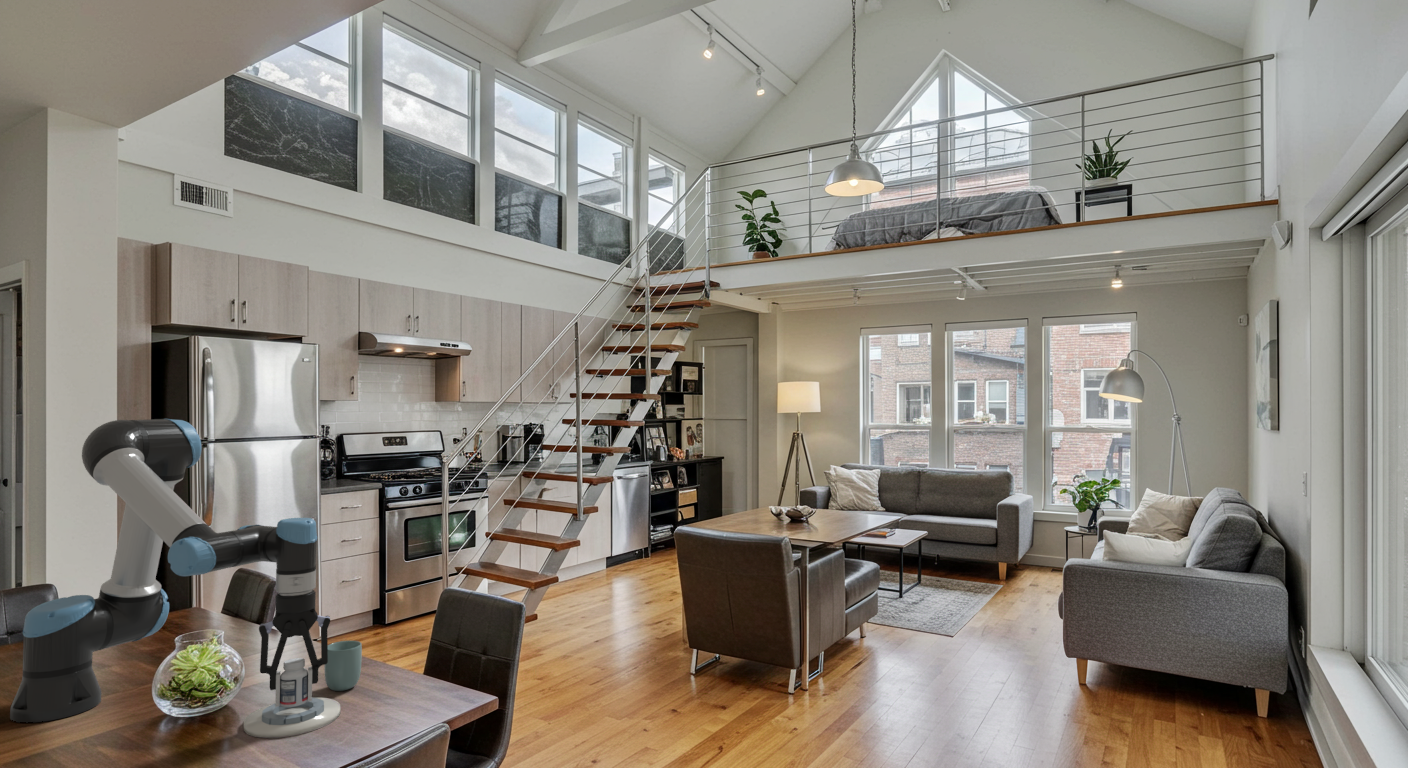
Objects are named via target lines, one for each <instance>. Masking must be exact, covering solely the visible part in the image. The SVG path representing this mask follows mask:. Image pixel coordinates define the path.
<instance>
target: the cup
mask: <svg viewBox="0 0 1408 768" xmlns="http://www.w3.org/2000/svg"><path fill="white" fill-rule="evenodd" d="M362 646H363V645H362V642H361V641H359V640H341V641H335V642H332V643H329V644H328V663H327V664H325V665H323V666H324V668H323V669H324V679H325V680H324V681H325V684H326V686H327V688H329V689H330V690H331V691H333V692H334V691H335V692H342V691H347V690H350V689H352V688H354V687H355V686H356V685H357V684H358V683H359V680H360V677H361V671H362V659H363V657H362V655H363V647H362Z"/></svg>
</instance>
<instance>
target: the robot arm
mask: <svg viewBox="0 0 1408 768" xmlns="http://www.w3.org/2000/svg"><path fill="white" fill-rule="evenodd" d="M202 449H203V448H202V440H201V438H200V435H199V433H198V432H197V429H196V427H194V426H193V425H192V424H191V423H190V422H188V421H185V420H183V419H170V418H154V419H153V418H152V419H151V418H150V419H117V420H111V421H108V422H106V423H103V424H100V425H99V426H98V427H96V428H95V429H93V430H92V431H91V432H90V433H89V435H87V437H86V438H85V440H84V443H83V445H82V450H81V459H82V463H83V466H84V468H85V470H86V472H87V473H88V475H89V476H90V477H91V478H92V479H93V480H94V481H95V482H96V483H98V484H100V485H102V486H108V487H110V489H111V490H113V492H114V493H115V494H116V495H117V496H118V497H120V499H121V500H122V501H124V503H125V505H124V509H123V514H122V515H123V516H122V520H121V525H120V530H119V535H118V540H117V545H116V550H115V555H114V560H113V565H112V571H111V575H110V579H108V580H106V581H105V582H104V583H101V586H100V590H99V595H98V597H97V598H94V597H93V596H91V595H89V594H87V595H86V594H79V595H78V594H76V595H71V596H68V597H67V596H66V597H59V598H56V599H52V600H49V601H46V602H43V603H41V604H38V605H36V606H34V607H33V608H31V610H29V611H28V612H27V613H26V615H25V617H24V618H25V619H24V623H23V629H22V635H23V646H22V647H23V649H22V679H21V682H20V684H19V687H18V690H17V691H16V694H15V696H14V698H13V701H12V702H11V703H12V704H10V705H11V706H10V708H9V709H10V710H9V711H10V712H9V719H10V720H11V721H12V720H13V721H12V722H14V721H16V722H15V723H20V722H26V724H29V723H28V722H33V723H41V722H42V721H43V722H49V721H55V720H60V719H64V718H69V717H71V716H75V715H79V714H81V713H84V712H86V711H88V710H89V711H90V710H91V709H93V708H95V707H97V706H98V705H99V704H100V703H101V702H102V689H101V686H100V683H99V681H98V679H97V676H96V674H95V672H94V669H93V655H94V652H98V651H102V650H105V649H109V648H112V647H115V646H119V645H123V644H127V643H131V642H133V643H134V642H137V641H140V640H142V639H144V638H146V637H147V638H148V637H150V636H152V635H154V634H156V633H157V632H159V630H161V628H162V627H163V626H164V624H165V623H166V621H167V619H168V615H169V613H170V602H169V601H168V599H169V597H168V594H167V592H166V591H165V590H164V589H163V588H162V584H161V582H160V581H158V580H157V579H156V578H157V577H156V576H157V574H158V570H159V569H158V568H159V565H160V558H161V555H162V554H161V552H162V548H163V543H165V544H166V546H168V548H169V549H168V551H167V552H168V553H167V562H168V564H170V570H171V571H172V572H173V573H174V574H175V575H177V576H179V577H190V576H191V577H192V576H201V575H205V574H209V573H211V572H216V571H220V570H225V569H231V568H236V567H240V566H245V565H249V564H253V563H258V562H267V563H268V562H269V563H276V569H275V592H277V594H276V595H275V608H274V609H275V610H274V611H275V614H274V617H273V618H272V620H271V621H268V622H265V623H264V622H262V623H260V624H259V626H258V631H259V634H260V637H261V641H260V642H261V643H260V644H261V645H260V659H259V660H260V663H259V673H260V674H268V675H269V689H270V691H273V690H275V703H274V704H275V707H277V706H280V676H281V674H282V672H281V670H278V669H279V665H280V662H281V659H282V656H283V653H284V649H285V646H286V643H287V641H288V638H292V637H301V636H302V639H303V641H304V645H305V649H306V651H307V655H308V658H309V661H310V665H311V666H308V668H307V670H308V701H312V697H313V684H318V682H319V669H320V667H321V666H324V665H325V664H327V663H328V645H329V644H328V643H329V642H328V640H329V639H328V629H329V626H330V624H331V617H330V616H329V615H325V616H323V615H319V614H318V612H317V611H316V599H317V598H316V594H317V593H316V591H315V589H316V587H317V584H316V583H317V582H316V581H317V567H316V566H317V543H318V534H317V532H318V531H317V522H316V520H315V519H314V518H311V517H291V518H285V519H281V520H279V521H278V522H277V525H276V526H271V525H269V526H268V525H262V524H254V525H246V524H245V525H243V526H241V527H238V528H237V529H235V530H234V529H233V530H229V531H223V532H215V530H214V529H213V528H211V526H209V524H207V523H206V522H205V521H204V519H202V518H201V517H200V516H199V514H197V513H196V512H195V511H194V510H193V508H191V507H190V506H189V505H188V504H187V503H186V502H185V501H184V500H183V499H182V498H181V497H180V496H179V495H178V494H177V493H176V492H175V491H174V490H175V486H176V484H178V483H179V482H181V481H182V480H183V479H184V477H185V474H186V473H185V472H186V469H187V468H191V467H193V466H195V465H196V463H198V462H199V461H200V458H201V456H202ZM316 622H317V623H318V627H320V642H321V643H320V646H321V647H320V648H321V649H320V651H321V657H320V658H317V653H316V650H315V647H314V644H313V639H312V637H311V633H310V630H311V629H312V627H313V626H314V625H315V623H316ZM273 627H275V629H276V630H277V631H278V632H279V633H280V637H279V639H278V640H279V641H278V643H277V646H276V650H275V653H274V655H273V659H272V662H271V665H268V655H269V641H270V639H269V637H270V635H269V634H270V633H271V632H272V628H273Z"/></svg>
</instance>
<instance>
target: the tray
mask: <svg viewBox="0 0 1408 768" xmlns="http://www.w3.org/2000/svg"><path fill="white" fill-rule="evenodd" d="M340 714H341V704H340V702H338V701H337V700H335V699H333V698H327V697H316V696H315V697H313V696H312V701H308V700H307V702H306V703H304V704H302V705H299V706H295V707H282V706H281V705H280V706H277V707H275V703H272V704H269V705H265V706H263V707H261V708H259V709H257V710H255V711H253V712H251V713H250V714H249V715H247V717H246V718H244V721H243V731H244V733H245V734H247V735H248V736H251V737H255V738H260V739H275V738H276V739H278V738H279V739H280V738H287V737H293V736H298V735H304V734H306V733H310V732H313V731H316V730H318V729H322V728H324V727H326V726H328V725H329V724H331V723H333V722H334V721H336V720H337V719H338V718H339V717H340Z"/></svg>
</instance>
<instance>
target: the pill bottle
mask: <svg viewBox="0 0 1408 768" xmlns="http://www.w3.org/2000/svg"><path fill="white" fill-rule="evenodd" d="M305 666H306V659H305V658H303V657H296V658H289V659H286V660H284V661H283V670H284V671H283V672H281V676H280V705H281V706H282V707H295V706H299V705H302V704H304V703H306V702H307V700H308V668H305Z"/></svg>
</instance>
